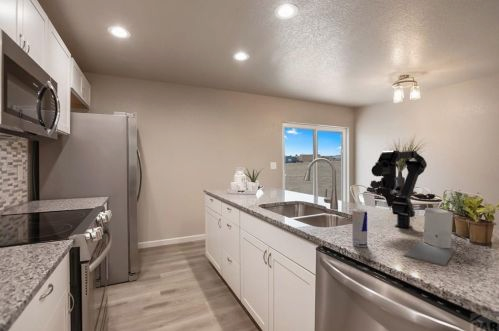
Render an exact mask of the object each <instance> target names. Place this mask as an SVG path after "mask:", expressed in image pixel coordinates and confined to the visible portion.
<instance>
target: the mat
mask: <svg viewBox="0 0 499 331" xmlns="http://www.w3.org/2000/svg"><path fill="white" fill-rule="evenodd" d="M454 253H455V250H454V249H450V248H440V247H435V246H433V245H430V244H429V245H428V244H426V243H425V244H424V243H419V242H417V243H415V244H414V245H412V246H411V248H409V249H408V250H407V251H406V252H405V253H403V256H404V257H407V258H410V259H413V260H419V261H423V262H425V263H430V264H435V265H439V266H442V267H446V265H447V264H448V262H449V260H450V259H451V257H452V256H453V255H454Z"/></svg>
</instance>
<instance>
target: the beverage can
mask: <svg viewBox="0 0 499 331" xmlns="http://www.w3.org/2000/svg"><path fill="white" fill-rule="evenodd" d="M351 220H352V245H353V246H354V247H357V248H366V247H367V246H368V211H367V210H366V209H363V208H353V209H352V218H351Z"/></svg>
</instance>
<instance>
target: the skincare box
mask: <svg viewBox="0 0 499 331" xmlns="http://www.w3.org/2000/svg"><path fill="white" fill-rule="evenodd" d="M453 215H454V213H453V212H452V211H450V210H445V209H442V208H438V207H424V223H423V225H424V227H423V240H422V242H424V243H425V244H427V245H428V244H429V245H430V246H435V247H440V248H445V249H451V248H452V233H453V219H454V218H453V217H454V216H453Z"/></svg>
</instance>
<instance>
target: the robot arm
mask: <svg viewBox="0 0 499 331" xmlns="http://www.w3.org/2000/svg"><path fill="white" fill-rule="evenodd" d="M404 159H405V161H404V164H405V165H406V170H407V173H406V174H407V175H406V177H405V181H404V182H403V186H402V185H397V180H398V177H397V167H399V164H398V163H397V162H400V160H404ZM426 168H427V161H426V160H425V158H424V157H423V156H421V155H420V154H418V152H417V150H406V151H399V150H383V151H382V152H381V153H380V155H379V157H378V159H377V162H376V161H375V162H374V165H373V166H372V168H371V170H370V171H371V173H372V175H373V176H374V177H381V178H380V180H378V181H377V180H371V182H370V185H369V186H370V187H371V188H372V190H375V189H376V190H375V191H376V192H375V193H376V194H377V195H378V194H379V195H382V196H384V198H385V202H386V204H387V207H388V208H391V211H392V214H393V215H396V216H397V217H396V219H397V220H396V225H394V227H395V228H401V229H407V230H410V229H412V228H413V225H411V218H414V217H415V214H416V212H415V210H414V208H413V207H412V206H413V203H412V201H411V200H412V199H411V198H412V195H413V192H414V189H415V187H416V184H417V181H418V178H419V176H420V175H421V174H423V173H424V172H425V169H426ZM396 191H399V192H400V194H399V192H396Z"/></svg>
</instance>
